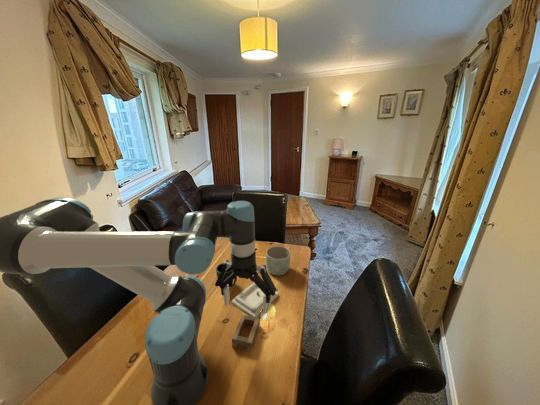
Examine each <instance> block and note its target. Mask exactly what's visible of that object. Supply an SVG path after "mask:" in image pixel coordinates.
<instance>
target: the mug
mask: <svg viewBox="0 0 540 405" xmlns="http://www.w3.org/2000/svg"><path fill="white" fill-rule="evenodd" d="M223 263H224V262H222V263H220V264H218V265H217V266H216V268H215V270H216V279H218V277H219V275H220V273H221V271H222V265H223ZM233 272H234V271H233V270H232V269H231V267H230V268H229V269H227V271H226V273H225V275H224V277H223V279H222V281H224V280H225V279H226V278H227V277H228V276H229V275H230V274H231V273H233ZM237 281H238V276H236V277H235V278H234V279H233V280H232V281H230V282H229V283H228V284H229V289H230V288H234V286H235V285H236V283H237Z"/></svg>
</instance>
